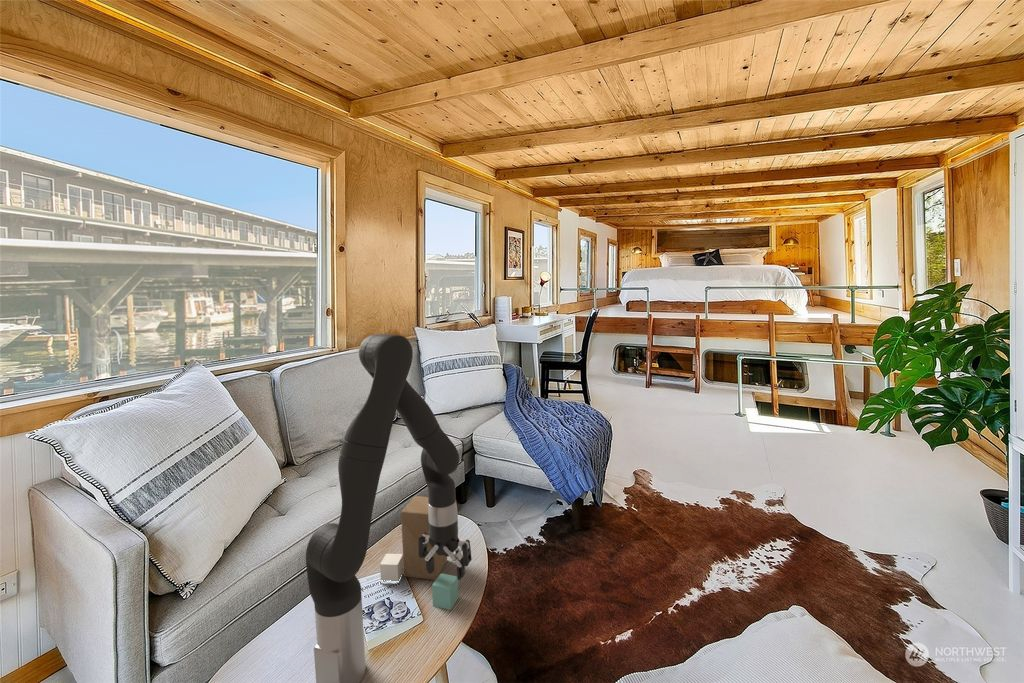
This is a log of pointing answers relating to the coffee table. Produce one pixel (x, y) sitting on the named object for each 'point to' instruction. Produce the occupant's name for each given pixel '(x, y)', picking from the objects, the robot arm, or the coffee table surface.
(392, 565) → the cream block
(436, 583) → the teal block
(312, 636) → the coffee table surface
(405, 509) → the wooden block
